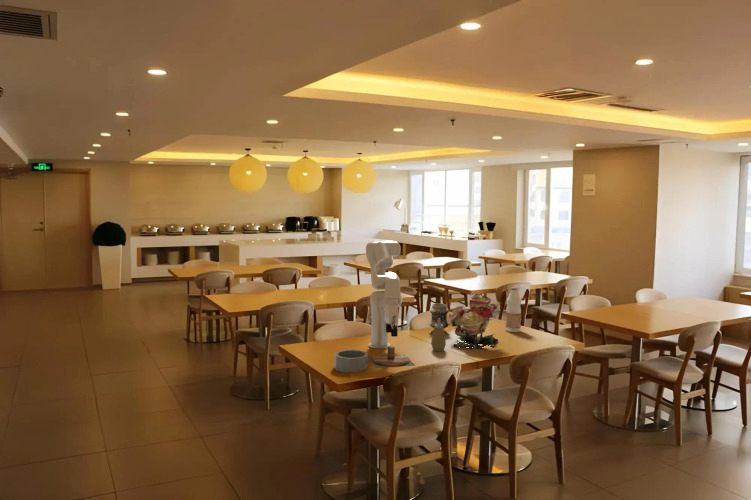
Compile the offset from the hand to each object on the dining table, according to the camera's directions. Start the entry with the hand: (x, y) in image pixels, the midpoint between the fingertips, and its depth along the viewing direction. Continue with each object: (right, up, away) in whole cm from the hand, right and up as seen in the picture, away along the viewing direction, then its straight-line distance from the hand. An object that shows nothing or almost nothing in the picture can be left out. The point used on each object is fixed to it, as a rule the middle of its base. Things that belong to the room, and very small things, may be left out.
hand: (391, 334), depth 291 cm
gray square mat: (0, -15, +2) cm, 15 cm away
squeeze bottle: (+27, -13, +26) cm, 40 cm away
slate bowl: (-20, -15, -9) cm, 27 cm away
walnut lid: (0, -14, +2) cm, 14 cm away
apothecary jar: (+32, -9, +68) cm, 76 cm away
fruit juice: (+80, -9, +76) cm, 111 cm away
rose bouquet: (+48, -12, +40) cm, 64 cm away
